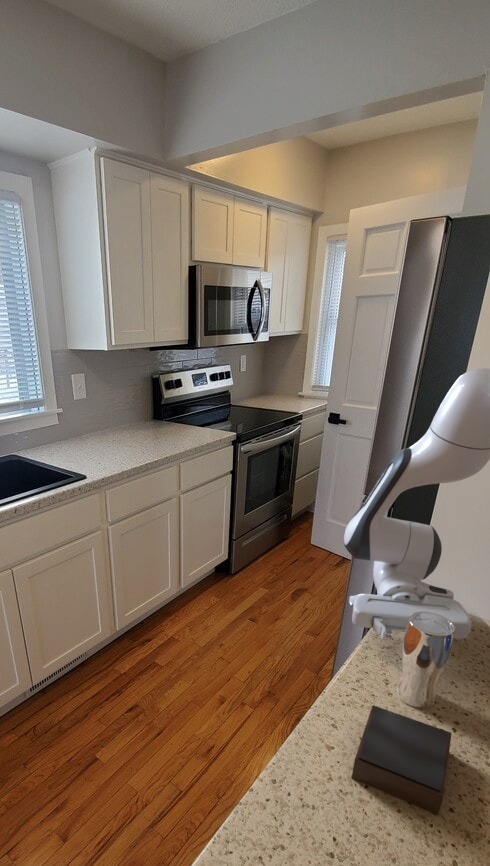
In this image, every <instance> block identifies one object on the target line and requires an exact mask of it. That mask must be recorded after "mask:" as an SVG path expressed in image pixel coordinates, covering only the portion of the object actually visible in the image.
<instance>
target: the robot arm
mask: <svg viewBox="0 0 490 866" xmlns="http://www.w3.org/2000/svg"><path fill="white" fill-rule="evenodd" d="M435 412H436V413H435V415H434V416H433V419H432V421H431V423H430V425H429V427H428V429H427V430H426V432H425V433H424V435H423V436H422V437H421V438H419V440H417V441H416V442H415V443H414V444H413V445H411V446H409V447H406V448H403V449H400V450H399V451H398V452H397V453H396V454H395V455H394V456H393V458H392V459H391V461H390V462H389V463H388V464H387V466H386V467H385V469H384V471H382V474H381V475H380V476H379V478H378V479H377V481H376V482H375V484H374V486H373V488H372V489H371V491H370V492H369V494H368V495H367V497H366V499H365V500H364V502H363V503H362V505H361V506H360V508H359V509H358V510H357V511H356V513H355V514H354V515H353V516H352V517H351V519H350V521H349V522H348V523H347V525H346V528H345V530H344V535H343V546H344V547H345V549H346V551H347V552H348V553H349V554H350V555H351V556H352V557H353V558H354V559H356V560H363V561H374V562H373V569H372V576H373V582H374V587H375V589H376V594H372V593H357V594H355V595H350V596H349V598H348V603H349V606H350V607H352V615H351V621H352V622H351V623H352V624H353V625H355V627H358V628H367V629H372V630H373V631H374V632H375V633H377V634H378V635H380V638H381V640H382V641H392V636H393V632H400V633H405V630H406V627H407V624H408V621H409V617H410V615H411V614H413V613H416V612H431V613H436V614H439V615H441V616H444V617H445V618H447V619H449V620H450V621H451V622H452V623H453V624H454V626H455V631H454V638H453V639H462V640H464V639H466V638H468V637H469V635H470V632H471V629H472V619H471V618H470V616H469V613H468V611H466V609H465V608H464V606H463V605H462V604H461V603H460V602H459V601H457V599H454V597H455V594H454V592H453V591H452V590H450V589H447V588H443V587H439V586H435V585H431V584H429V583H426V582H423V580H426V579H427V578H429V576H430V575H432V574H433V572H434V571H435V570H436V569H437V567H438V564H439V563H440V560H441V556H442V551H443V548H442V547H443V546H442V540H441V539H440V536H439V534H438V532H437V530H436V529H435V527H434V526H432V525H429V524H425V523H420V522H416V521H411V520H404V519H398V518H393V517H389V516H385V515H386V514H387V512H388V511H389V510H390V509H391V507H392V505H393V504H394V502H395V501H396V500H397V498H398V497H399V495H401V493H404V492H406V491H407V490H409V489H414V488H416V487H422V486H427V485H437V484H449V483H455V482H459V481H460V482H461V481H463V480H466V479H468V478H471V477H473V476H475V475H476V474H478V473H479V472H480V471H481V470H483V469H484V467H485V466H486V465H487V464H488V462H489V461H490V368H487V367H486V368H475V369H471V370H468V371H466V372H464V373H463V374H461V375H460V376H459V377H458V378H457V379H456V380H455V381H454V383H453V384H452V386H451V387H450V389H449V390H448V392H447V393H446V395H445V397H444V398H443V400H442V402H441V403H440V405H439V407H438V409H437V411H435Z"/></svg>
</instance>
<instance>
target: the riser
mask: <svg viewBox="0 0 490 866" xmlns="http://www.w3.org/2000/svg"><path fill="white" fill-rule="evenodd" d="M451 741H452V732H450V731H448V730H445V729H442V728H440V727H436V726H433V725H431V724H428V723H425V722H422V721H420V720H418V719H417V720H416V719H414V718H411V717H408V716H405V715H402V714H399V713H396V712H395V711H390V710H388V709H385V708H382V707H379V706H377V705H372V706H371V708H370V711H369V715H368V718H367V721H366V724H365V727H364V729H363V733H362V736H361V739H360V742H359V745H358V748H357V750H356V751H357V752H356V754H355V757H354V761H353V768H352V773H351V779H353V780H355V781H358V782H360V783H362V784H364V785H367V786H369V787H372V788H374V789H376V790H378V791H380V792H383V793H385V794H388V795H389V796H392V797H395V798H397V799H400V800H401V801H403V802H406V803H409V804H410V805H413V806H415V807H418V808H419V809H422V810H424V811H426V812H429V813H432V814H434V815H436V816H439V814H440V811H441V807H442V804H443V800H444V797H445V789H446V781H447V772H448V765H449V757H450V748H451Z"/></svg>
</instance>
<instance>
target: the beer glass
mask: <svg viewBox="0 0 490 866" xmlns="http://www.w3.org/2000/svg"><path fill="white" fill-rule="evenodd" d="M454 631H455V626H454V624H453V623H452V622H451V621H450V620H449V619H447V618H445V617H444V616H441V615H439V614H436V613H431V612H416V613H413V614H411V615H410V617H409V621H408V624H407V627H406V630H405V632H404V635H403V638H402V645H401V661H402V662H401V663H402V665H401V666H402V671H401V677H400V679H399V682H398V683H397V686H396V689H395V691H396V692H395V693H396V695H397V697H398V698H399V700H401V701H402V702H403V703H405V704H406V705H408V706H411V707H413V708H416V709H428V708H431V707H433V706H434V705H435V704H436V700H437V695H436V693H437V692H436V691H437V690H436V689H437V684H438V682H439V679H440V678H441V675H442V674H443V672H444V671H445V668H446V666H447V664H448V662H449V659H450V657H451V653H452V648H453V644H454V639H455V638H454Z"/></svg>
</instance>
